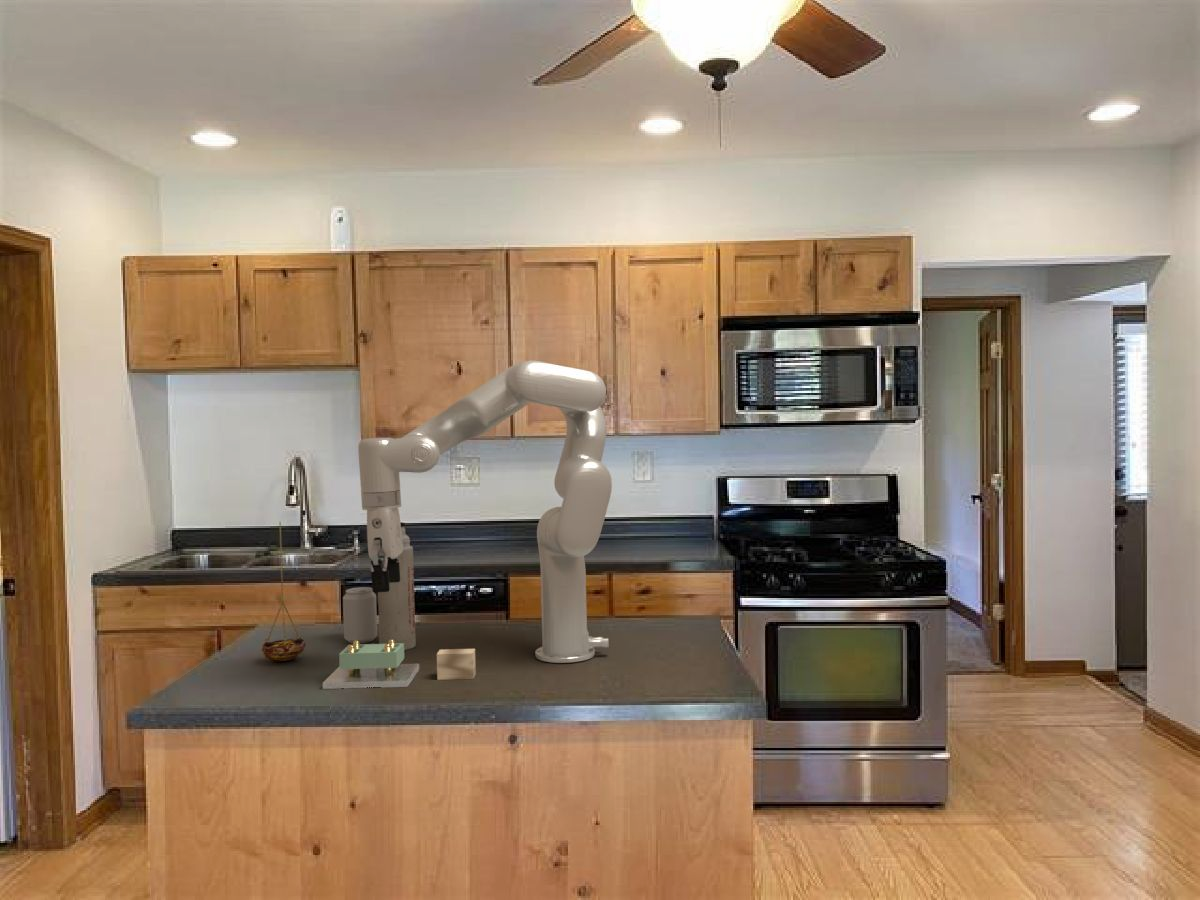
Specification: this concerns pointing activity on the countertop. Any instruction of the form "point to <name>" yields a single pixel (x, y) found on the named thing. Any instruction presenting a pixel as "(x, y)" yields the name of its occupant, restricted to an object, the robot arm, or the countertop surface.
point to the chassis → (371, 674)
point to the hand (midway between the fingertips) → (386, 586)
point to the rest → (456, 664)
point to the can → (360, 615)
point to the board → (372, 657)
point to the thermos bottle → (399, 602)
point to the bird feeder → (286, 647)
